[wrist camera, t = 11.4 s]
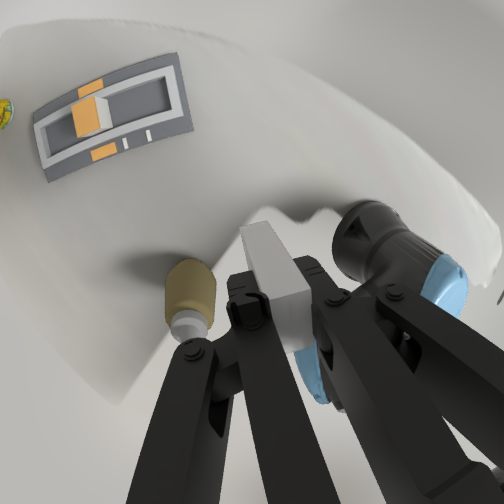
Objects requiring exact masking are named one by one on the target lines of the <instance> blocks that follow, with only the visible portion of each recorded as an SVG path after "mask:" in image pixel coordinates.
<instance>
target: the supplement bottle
mask: <svg viewBox="0 0 504 504" xmlns="http://www.w3.org/2000/svg"><path fill="white" fill-rule="evenodd" d="M13 113H14V106H13V103H12V101H10V100H8V99H0V129H4V128H5V127H7V126H8V125H9V123H10V122H11V120H12V117H13Z"/></svg>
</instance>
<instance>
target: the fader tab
mask: <svg viewBox="0 0 504 504" xmlns="http://www.w3.org/2000/svg"><path fill="white" fill-rule="evenodd" d="M71 108H72V114H73V119H74V124H75V128H76V133H77V138H79V137H87V136H94V135H96V134H99V133H101V132H104V131H106V130H109V129H111V128H113V125H112V120H111V115H110V111H109V106H108V100H107V99H103V98H99V97H95V96H91V97H89V98H87V99H85V100H83V101H81V102H78V103H76V104H74V105H72V106H71Z"/></svg>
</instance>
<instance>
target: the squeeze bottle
mask: <svg viewBox="0 0 504 504" xmlns="http://www.w3.org/2000/svg"><path fill="white" fill-rule="evenodd" d="M215 298H216V279H215V277H214V275H213V273H212V272H211V271H210V269H209V268H208V267H207V266H206V265H205V264H204V263H203V262H202V261H199V260H197V259H185V260H183V261H181V262H180V263H178V264H177V265H176V266H175V267H174V268H173V269H172V270H171V271H170V272H169V273H168V275H167V278H166V281H165V318H166V323H167V324H168V326H169V327H170V329H171V334H172V336H173V337H174V339H176V340H177V341H179V342H180V343H182V342H184V341H186V340H188V339H191V338H197V337H200V338H206V336H207V334H208V333H207V332H208V330H209V329H210V328H211V326H212V324H213V322H214V312H215Z"/></svg>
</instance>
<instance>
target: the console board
mask: <svg viewBox="0 0 504 504" xmlns="http://www.w3.org/2000/svg"><path fill="white" fill-rule="evenodd" d="M91 96H95V97H99V98H103V99H107V100H108V106H109V111H110V115H111V120H112V125H113V128H111V129H109V130H106V131H104V132H101V133H99V134H96V135H94V136H87V137H79V138H77V133H76V128H75V124H74V119H73V114H72V108H71V106H72V105H74V104H76V103H78V102H81V101H83V100H85V99H87V98H89V97H91ZM33 119H34V125H33V126H34V131H35V136H36V141H37V146H38V150H39V154H40V159H41V163H42V167H43V169H44V170H45V173H46V177H47V180H48V183H50V182H52V181H54V180H56V179H58V178H60V177H62V176H65V175H67V174H69V173H71V172H73V171H76V170H78V169H80V168H83V167H85V166H87V165H90V164H92V163H95V162H97V161H100V160H102V159H105V158H108V157H110V156H113V155H116V154H118V153H121V152H124V151H127V150H130V149H133V148H136V147H139V146H142V145H145V144H148V143H151V142H154V141H158V140H161V139H164V138H168V137H171V136H175V135H179V134H183V133H186V132H190V131H194V129H193V125H192V120H191V116H190V111H189V106H188V101H187V97H186V92H185V87H184V82H183V77H182V72H181V67H180V62H179V57H178V54H177V52H175V53H172V54H168V55H164V56H161V57H157V58H154V59H151V60H147V61H144V62H141V63H138V64H135V65H132V66H130V67H127V68H124V69H121V70H119V71H116V72H114V73H111V74H109V75H106V76H104V77H101V78H99V79H97V80H95V81H92V82H90V83H88V84H86V85H84V86H82V87H79V88H77V89H75V90H73V91H71V92H69V93H68V94H66V95H64V96H62V97H60V98H58V99H56V100H55V101H53V102H51V103H49V104H48V105H46V106H44V107H42V108H41V109H39V110H38V111H36V112H34V113H33Z"/></svg>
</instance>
